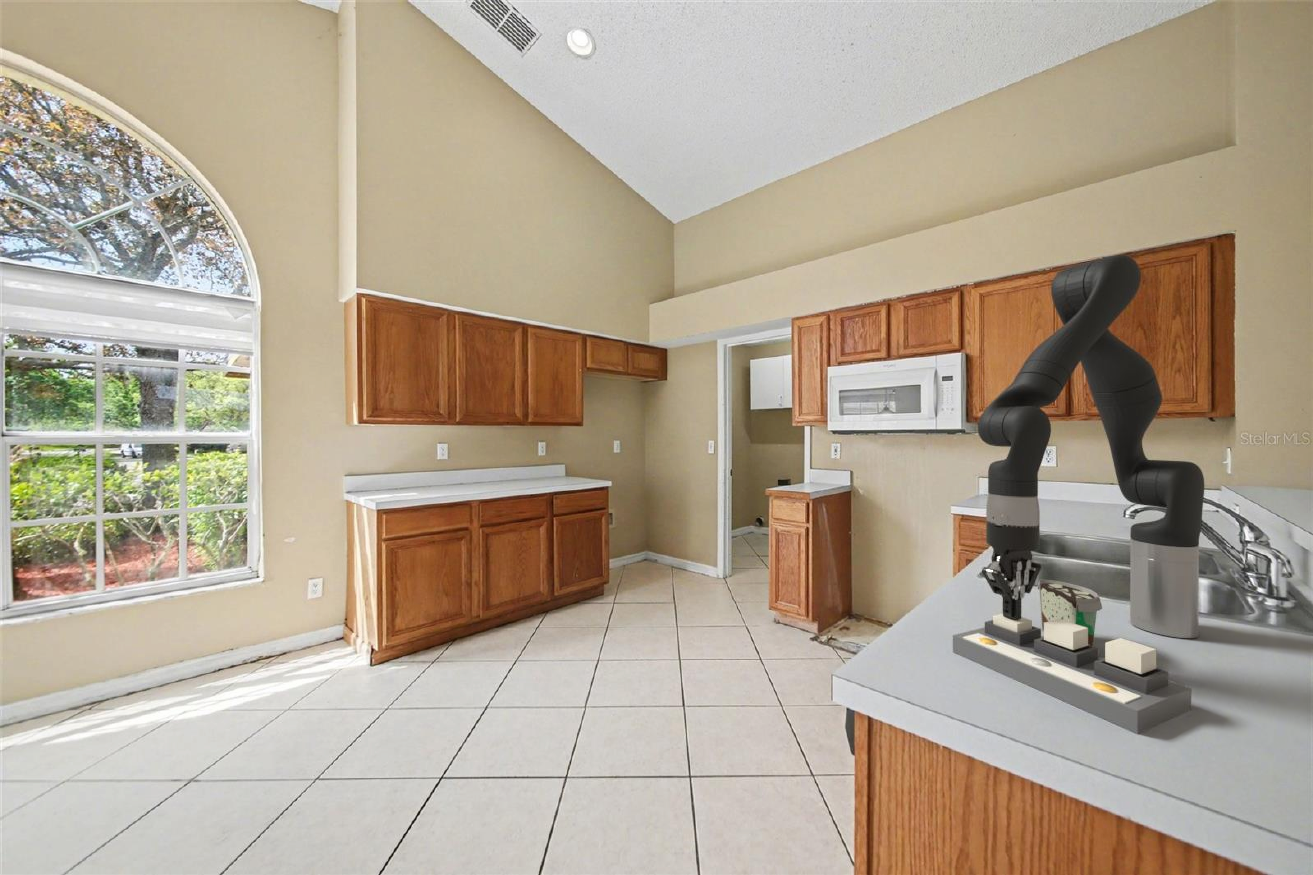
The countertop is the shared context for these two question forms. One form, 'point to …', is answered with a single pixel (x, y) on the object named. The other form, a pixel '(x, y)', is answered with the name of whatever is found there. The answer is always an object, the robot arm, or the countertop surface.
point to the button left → (1013, 623)
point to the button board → (1077, 676)
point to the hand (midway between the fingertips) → (1011, 618)
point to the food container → (1069, 604)
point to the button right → (1130, 655)
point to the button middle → (1066, 634)
